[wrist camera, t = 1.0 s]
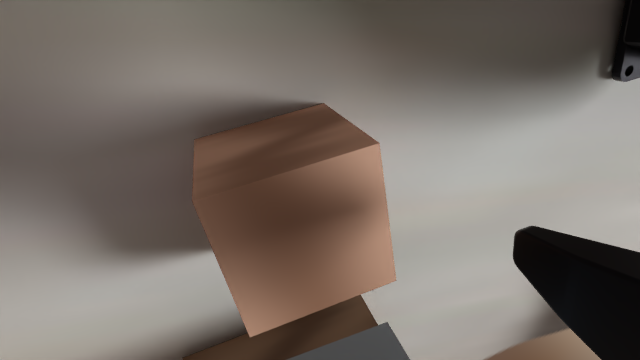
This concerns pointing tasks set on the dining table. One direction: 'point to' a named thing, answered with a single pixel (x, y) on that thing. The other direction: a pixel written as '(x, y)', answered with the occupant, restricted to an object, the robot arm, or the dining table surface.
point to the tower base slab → (296, 334)
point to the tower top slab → (361, 347)
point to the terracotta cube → (294, 214)
